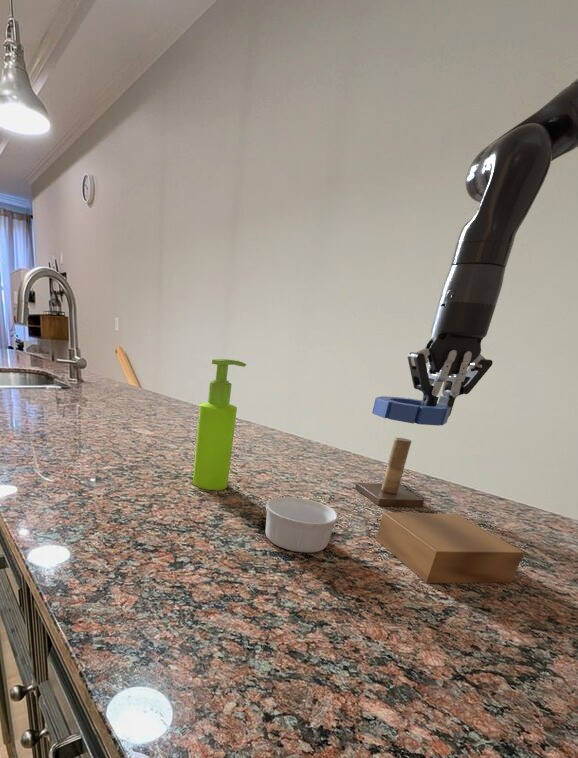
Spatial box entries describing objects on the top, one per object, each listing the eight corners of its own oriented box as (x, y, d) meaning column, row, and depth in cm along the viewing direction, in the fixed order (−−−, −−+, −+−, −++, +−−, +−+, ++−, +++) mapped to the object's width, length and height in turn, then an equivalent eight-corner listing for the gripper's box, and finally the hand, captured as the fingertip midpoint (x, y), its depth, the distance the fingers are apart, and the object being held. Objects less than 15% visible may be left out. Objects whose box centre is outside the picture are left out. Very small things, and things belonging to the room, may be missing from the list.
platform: (448, 540, 62) (457, 513, 60) (511, 583, 52) (524, 552, 50) (375, 539, 60) (382, 512, 58) (426, 583, 50) (437, 551, 48)
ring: (418, 413, 77) (422, 399, 76) (460, 427, 68) (465, 410, 67) (362, 409, 76) (365, 394, 75) (397, 422, 66) (401, 405, 65)
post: (395, 490, 81) (410, 435, 77) (422, 507, 74) (440, 446, 70) (354, 488, 80) (368, 432, 76) (378, 505, 72) (394, 444, 69)
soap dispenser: (239, 486, 75) (255, 362, 67) (206, 492, 71) (219, 360, 64) (218, 476, 79) (231, 358, 72) (186, 480, 76) (196, 356, 68)
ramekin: (279, 520, 63) (284, 491, 61) (340, 540, 59) (347, 509, 57) (249, 539, 56) (253, 507, 55) (315, 564, 52) (323, 530, 50)
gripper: (489, 307, 70) (454, 417, 77) (409, 298, 68) (381, 412, 75) (528, 306, 63) (486, 427, 70) (441, 295, 61) (407, 421, 68)
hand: (432, 419), depth 72 cm, fingers closed on ring, 2 cm apart
